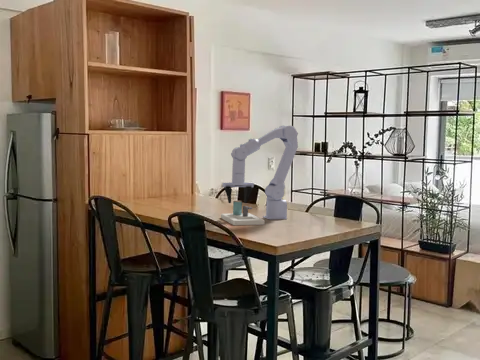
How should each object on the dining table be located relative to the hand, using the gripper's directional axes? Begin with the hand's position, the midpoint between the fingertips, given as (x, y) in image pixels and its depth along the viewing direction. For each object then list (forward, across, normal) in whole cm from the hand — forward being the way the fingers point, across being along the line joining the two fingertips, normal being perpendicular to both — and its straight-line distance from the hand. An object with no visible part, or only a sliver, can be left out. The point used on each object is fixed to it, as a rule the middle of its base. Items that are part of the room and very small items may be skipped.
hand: (237, 202), depth 250 cm
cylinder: (+5, 0, 0) cm, 5 cm away
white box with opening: (+7, 0, +7) cm, 10 cm away
